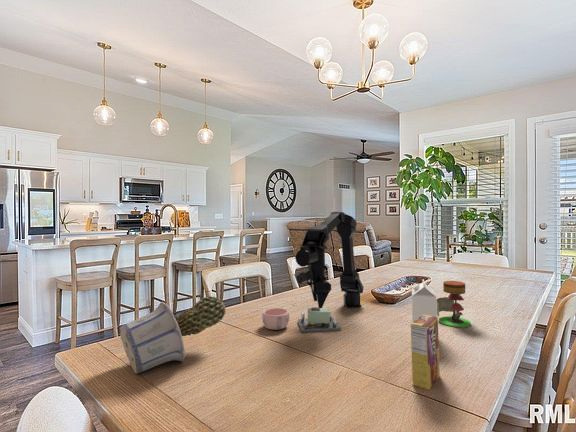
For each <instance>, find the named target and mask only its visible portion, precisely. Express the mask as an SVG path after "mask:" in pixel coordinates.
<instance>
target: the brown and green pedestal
mask: <svg viewBox="0 0 576 432" xmlns="http://www.w3.org/2000/svg"><path fill="white" fill-rule="evenodd" d="M442 285H443V288H442V291H443V292H444V293H446V294H449V295H448V297H446V296H445V297H437V298H436V311H437V317H438V323H440V324H442V325H444V326H448V327H450V328H469V327H470V326H471V325H472V324H471V321H470V320H468V319H466V318H464V317H463V318H462V317H461V316H463V313H462V311H464V307H463V306H462V305H461V304H460V303H459V302H457V301H465V298H464V297H463V296H462V295H465V294H466V283H465V282H463V281H458V280H445V281H443V284H442ZM440 312H449V313H452V314H450V315H448V316H447V315H446V316H441V317H440Z"/></svg>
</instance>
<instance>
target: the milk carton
mask: <svg viewBox="0 0 576 432" xmlns="http://www.w3.org/2000/svg"><path fill="white" fill-rule="evenodd" d="M422 315H428V316H434V317H438V316H437V295H436V291H434V290H433V289H432V288H431V287H430V286H429V285H427V284H426V283H425V280H424V279H422V282H421V283H420V284H418V283H417V284H414V285H413V286H412V290H411V318H412V319H411V324H412V323H413V322H414V321H416V320H417V319H418V318H419V317H420V316H422Z"/></svg>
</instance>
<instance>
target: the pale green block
mask: <svg viewBox="0 0 576 432" xmlns="http://www.w3.org/2000/svg"><path fill="white" fill-rule="evenodd" d="M330 311H331V310H330V308H329V307H322V308H319V307H316V306H315V307H314V306H311V307H307V319H308V323H330Z"/></svg>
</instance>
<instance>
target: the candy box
mask: <svg viewBox="0 0 576 432" xmlns="http://www.w3.org/2000/svg"><path fill="white" fill-rule="evenodd" d="M410 335H411V337H410V340H411V342H410V343H411V370H412V371H411V372H412V373H411V374H412V386H415V387H418V388H421V389H424V390H427V391H430V389H431V388H432V387H433V386H434V384H435V383H436V381H437V380H438V379H439V377H440V376H441V372H440V371H441V369H440V367H441V366H440V346H439V343H440V342H439V317H438V316H437V317H434V316H428V315H422V316H420V317H419V318H418V319H417V320H416V321H414V322H413V323H412V322H411V323H410Z"/></svg>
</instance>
